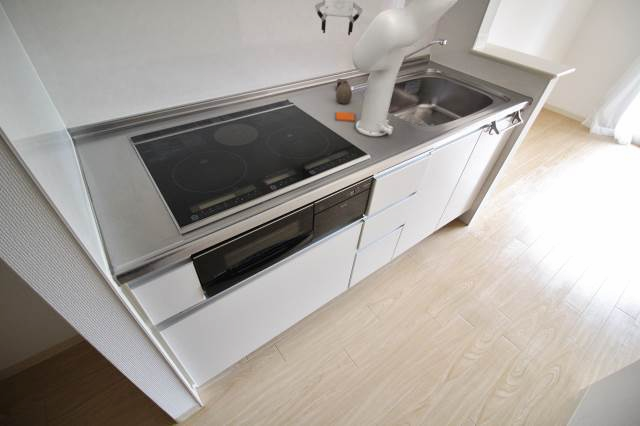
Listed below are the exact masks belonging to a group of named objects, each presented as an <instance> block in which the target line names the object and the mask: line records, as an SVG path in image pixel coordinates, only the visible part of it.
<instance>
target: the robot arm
mask: <svg viewBox="0 0 640 426" xmlns="http://www.w3.org/2000/svg"><path fill="white" fill-rule="evenodd" d="M458 1H459V0H411V1H410V2H409V3H408V4H407V5H406V6H404V7H400V8H388V9H385V10H383V11H381V12H379V13H378V14H377V15H376V16H375V17H374V18H373V20H372V21H371V22H370V24H368V26H367V28H366V29H365V30H364V32H363V33H362V35H361V36H360V37H359V39H358V40H357V41H356V43H355V46H354V48H353V52H352V63H353V66H354V68H355V69H356V70H357V71H359V72H361V73H369V75H368V77H367V80H366V87H365V92H364V97H363V104H362V110H361V116H360V119H359V120H358V121H356V123H355V130H357V132H359V134H360V133H361V134H362V135H365V136H368V137H382V136H385V135H387V134H388V135H392V133H393V131H394V127H393V126H392V125H389V122H390V120H389V119H387V118H388V114H389V109H390V106H391V102H392V98H393V93H394V89H395V85H396V81H397V77H398V75H399V72H400V69H401V67H402V64H403V62H404V59H405V56H406V48H407V47H411V46H414V45H415V44H417V42H418V41H419V40H420V39H421V38H422V37H423V36H424V35H425V34H426V33H427V32H428V31H429V30H431V28H432V27H433V26H434V25H435V24H436V23H437V22H438V21H439V19H440V18H442V16H443V15H444V14H446V12H448V11H449V10H450V9H451V8H452V7H453V6H454V5H455V4H456V3H457V2H458ZM323 6H324V13H323V12H322V11H321V7H323ZM314 8H315V12H316V14H317V16H318V17H319V18H320V20H321V31H322V33H323V34H325V33H326V26H327V20H326V19H327V17H328V16H329V17H339V18H348V20H349V22H348V32H347V36H351V33H353V28H354V23H355V22H356V21H357V20H358V19H359V17H360V16H361V14H362V12H363V8H362V7H361V6H360V5H358V4H357V3H356V2H355V0H322V1H320V2H317V3H315V5H314ZM354 9H355V10H356V11H357V12H356V13H355V14H354V16H353V11H354Z"/></svg>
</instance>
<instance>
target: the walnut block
mask: <svg viewBox="0 0 640 426" xmlns="http://www.w3.org/2000/svg"><path fill="white" fill-rule="evenodd" d="M343 81H347V82H348V80H347V79H345V78H337V80H336V90H337V89H338V87H339V86H340V85H341V84H342V82H343Z"/></svg>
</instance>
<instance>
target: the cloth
mask: <svg viewBox="0 0 640 426" xmlns="http://www.w3.org/2000/svg"><path fill="white" fill-rule="evenodd" d="M335 114H336V115H335V117H336V118H335V120H336V121H342V122H343V121H344V122H355V113H354V112H345V111H336V113H335Z"/></svg>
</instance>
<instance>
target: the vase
mask: <svg viewBox="0 0 640 426" xmlns="http://www.w3.org/2000/svg"><path fill="white" fill-rule="evenodd" d="M352 94H353V91H352V88H351V86H350V84H349V82H348V80H347V81H343V82H342V84H341V85H340V86H339V87H338V89H337V88H336V91H335V98H336V101H337V102H338V103H339V104H341V105H347V104H348V103H349V102H350V101H351V99H352V96H353V95H352Z"/></svg>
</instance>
